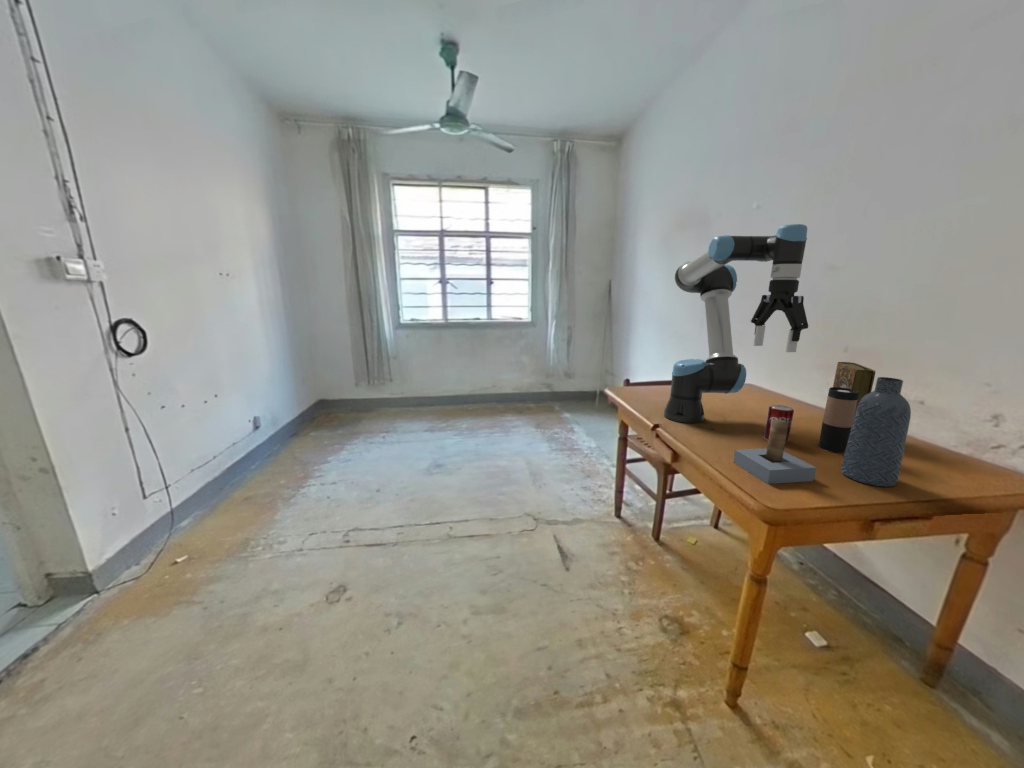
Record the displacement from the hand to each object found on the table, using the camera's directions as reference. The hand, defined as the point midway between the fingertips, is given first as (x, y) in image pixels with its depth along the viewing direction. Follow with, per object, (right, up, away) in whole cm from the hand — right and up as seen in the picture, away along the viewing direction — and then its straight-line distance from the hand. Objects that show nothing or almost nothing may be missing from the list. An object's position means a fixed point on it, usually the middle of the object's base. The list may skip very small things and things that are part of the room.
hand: (773, 348), depth 129 cm
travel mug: (+23, -33, +6) cm, 40 cm away
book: (+38, -29, +21) cm, 52 cm away
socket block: (-8, -36, -11) cm, 39 cm away
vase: (+17, -37, -14) cm, 44 cm away
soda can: (+9, -31, +13) cm, 35 cm away
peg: (-8, -36, -11) cm, 39 cm away
